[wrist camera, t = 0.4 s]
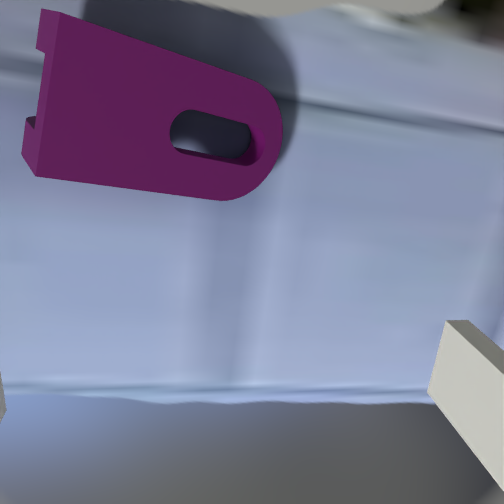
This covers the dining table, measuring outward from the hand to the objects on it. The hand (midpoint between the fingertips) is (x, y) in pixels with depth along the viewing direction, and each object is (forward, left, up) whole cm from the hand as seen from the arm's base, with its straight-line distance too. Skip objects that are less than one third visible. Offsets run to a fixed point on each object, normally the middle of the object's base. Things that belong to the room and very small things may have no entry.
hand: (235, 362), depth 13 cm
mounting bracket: (-4, -2, -28) cm, 28 cm away
